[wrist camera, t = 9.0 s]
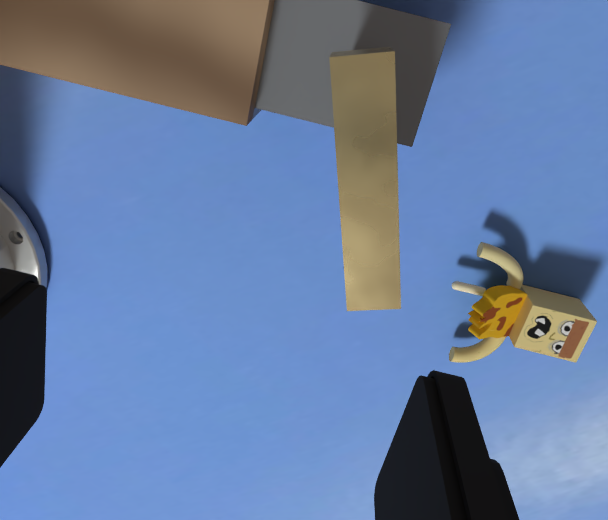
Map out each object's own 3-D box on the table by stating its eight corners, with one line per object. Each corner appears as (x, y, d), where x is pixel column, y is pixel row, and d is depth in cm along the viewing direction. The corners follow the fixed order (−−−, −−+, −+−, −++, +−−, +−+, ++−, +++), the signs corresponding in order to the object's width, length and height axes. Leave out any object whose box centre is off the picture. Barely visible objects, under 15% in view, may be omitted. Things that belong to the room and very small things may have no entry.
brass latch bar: (384, 42, 21) (394, 51, 16) (390, 249, 25) (400, 308, 20) (334, 47, 22) (329, 57, 17) (347, 252, 25) (346, 310, 20)
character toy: (478, 253, 28) (622, 287, 28) (465, 230, 31) (596, 261, 31) (429, 374, 31) (558, 404, 32) (422, 343, 34) (540, 371, 34)
